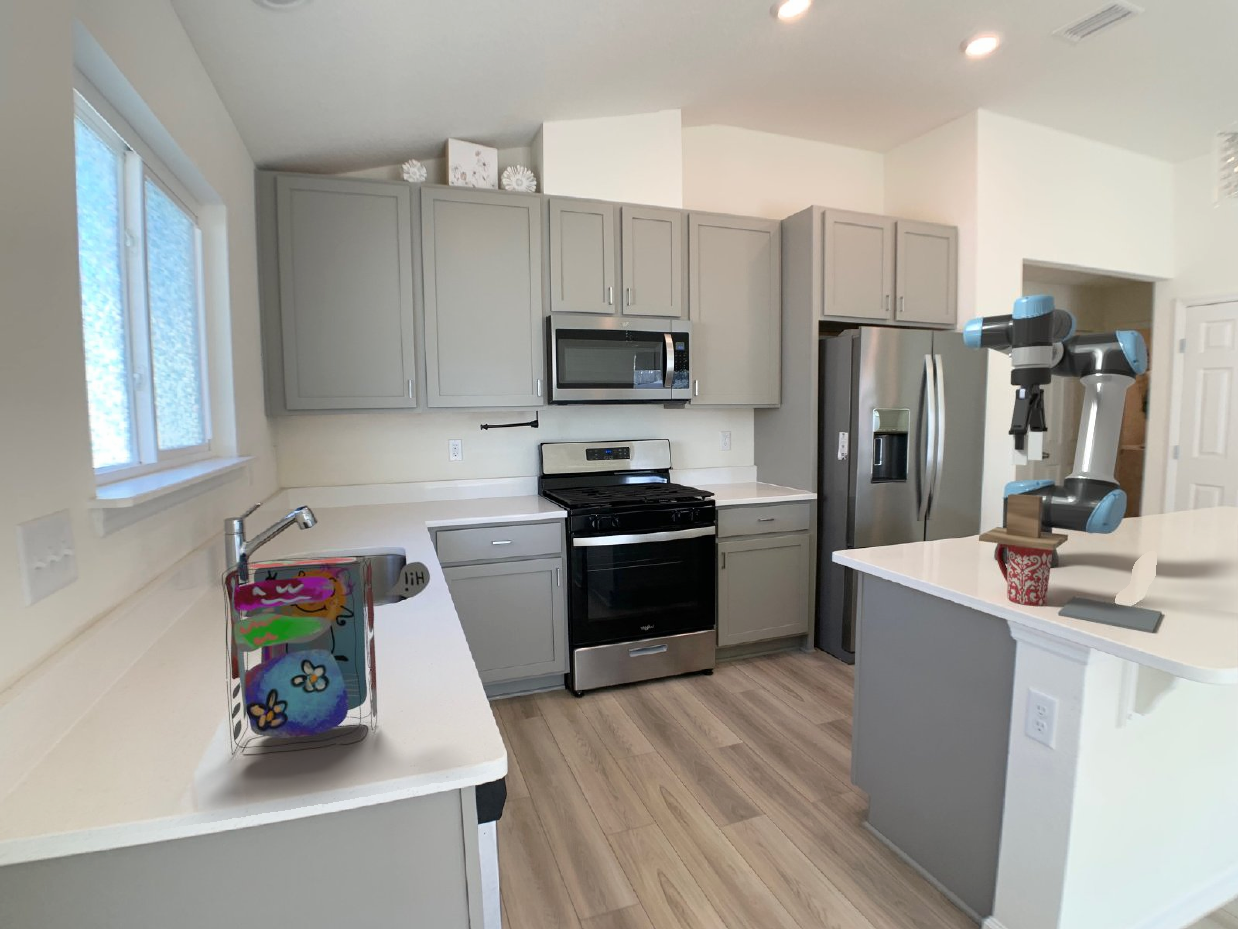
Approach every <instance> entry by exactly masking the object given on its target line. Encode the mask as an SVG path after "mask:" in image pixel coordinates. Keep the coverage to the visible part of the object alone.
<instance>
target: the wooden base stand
mask: <svg viewBox="0 0 1238 929" xmlns="http://www.w3.org/2000/svg"><path fill="white" fill-rule="evenodd" d="M1042 500H1043V496H1033V495H1019V494H1010V495H1008V505H1007V528H1003V526H1002V527H1000V526H996V527H994V528H992V529H991V530H988V531H986V532H984V533H982V534H979V535H978V542H986V543H993V544H998V543H999V544H1007V545H1015V546H1023V547H1031V548H1039V549H1046V550H1055V549H1056V550H1057V548H1059V547H1061V546H1062V545H1063V544H1064V543H1066V542H1067V541H1068V540H1069V539H1068V538H1069V535H1068V534H1066V533H1065V534H1063V533H1055V532H1052V533H1047V532H1041V522H1042Z"/></svg>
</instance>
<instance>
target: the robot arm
mask: <svg viewBox="0 0 1238 929" xmlns="http://www.w3.org/2000/svg"><path fill="white" fill-rule="evenodd" d="M1077 326H1078V324H1077V318H1076V317H1075V315H1074V314H1073V313H1071V312H1069V311H1067V310H1065V309H1062V308H1056V305H1055V298H1054V296H1053V295H1051V294H1036V295H1035V294H1033V295H1026V296H1021V297H1019V298H1016V299H1015V301H1014V303H1013V309H1012V313H1009V314H1000V315H993V316H992V315H991V316H985V317H984V316H981V317H977V318H973V319H969V320H968V321H967V322H966V323H965V326H964V328H963V335H962V338H963V341H964V344H965V346H966V347H967V348H968V349H971V350H972V349H973V350H975V349H977V350H978V349H979V350H981V349H990V350H994V351H996V352H999V353H1001V354H1003V355H1007V356H1008V358H1011V365H1010V366H1011V367H1014V368H1013V369H1011V371H1010V385H1012V386H1014V387H1015V386H1020V388H1017V389H1016V390H1015V400H1014V405H1013V411H1012V417H1011V424H1010V429H1009V430H1008V435H1009V436H1012V458H1011V465H1013V466H1028V461H1043V453H1044V452H1043V449H1044V433H1047V432H1048V431H1049V430H1048V429H1049V428H1048V426H1047V423H1046V411H1045V399H1044V398H1045V397H1044V396H1045V389H1044V388H1040V386H1043V385H1050V384H1051V383H1052V376H1057V377H1062V378H1079V382H1080V383H1081V384H1082V385H1083V386H1084V387H1085V391H1084V396H1083V397H1084V398H1083V402H1082V403H1083V404H1082V410H1081V417H1080V422H1079V429H1078V434H1077V442H1076V447H1075V449H1076V450H1075V455H1074V461H1073V467H1072V468H1073V469H1072V472H1071V473H1070V474H1069V475H1067V476H1066V477H1064V480H1063V484H1062V485H1056V482H1055V479H1047V478H1046V479H1044V478H1043V479H1025V480H1024V479H1023V480H1015V481H1014V480H1013V481H1010V482H1007V483H1006V484H1005V485H1004V491H1003V497H1002V500H1003V505H1002V507H1003V509H1002V510H1003V511H1002V528H1007V505H1008V495H1010V494H1019V495H1033V496H1043V500H1042V522H1041V532H1047V533H1053V529H1059V530H1067V531H1076V532H1083V533H1088V534H1099V535H1102V534H1103V535H1108V534H1109V535H1110V534H1112V533H1113V532H1115V531H1116V530H1117V529H1118V528H1119V526H1120V525H1121V523H1122V522H1123V519H1124V517H1125V513H1126V510H1127V501H1128V500H1127V499H1128V498H1127V493H1126V492H1125V491H1124V490H1122V489H1120V486H1121V485H1120V484H1121V483H1119V482H1118V480H1116V479H1115V477H1114V475H1115V466H1116V460H1117V455H1118V447H1119V442H1120V434H1121V428H1122V421H1123V415H1124V414H1123V413H1124V409H1125V401H1126V395H1127V389H1128V388H1129V387H1131V386H1132V385H1134V384H1135V383H1136V379H1137V376H1141V375H1143V374H1145V373H1146V371H1147V369H1148V351H1147V345H1146V342H1145V339H1144V337H1143V335H1142V334H1141V333H1140V332H1139V331H1137V330H1114V331H1107V332H1095V333H1088V334H1087V333H1085V334H1075V332H1076V330H1077ZM1028 430H1030V431H1028ZM999 545H1001V544H999V543H996V546H995V548H994V556H993V558H994V559H995V560H996V561H997V549H998V547H999ZM1003 556H1004V561H1005V564H1007V547H1006V548H1005V549H1004V553H1003ZM1059 560H1060V557H1059V554H1058V551H1057V548H1056V549H1055V550H1053V552H1052V560H1051V567H1050V568H1055V567H1057V566H1059Z"/></svg>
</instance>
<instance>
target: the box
mask: <svg viewBox="0 0 1238 929" xmlns="http://www.w3.org/2000/svg"><path fill="white" fill-rule="evenodd" d="M357 558H358V559H361V558H363V559H362V561H359V560H357ZM366 559H367V560H366ZM365 560H366V561H365ZM369 560H371V558H370V557H368V558H366V557H365V556H363V555H352V556H349V555H348V556H344V557H337V556H328V557H327V556H323V557H319V556H318V557H316V558H312V559H307V557H300V558H299V557H295V558H292V559H288V558H283V559H282V558H281V559H276V560H275V559H270V560H269V559H268V560H267V561H266V560H261V561H258V562H257V561H252V562H251V561H250V562H246V563H245V564H242V565H238V564H236V565H233V566H231V567H229V568H228V569H226V570H225V571H224V572H222V574H221V585H222V589H223V590H222V591H223V597H224V600H225V601H224V609H225V610H224V614H225V617H226V619H225V650H226V651H225V653H226V656H225V657H226V658H225V659H226V661H225V664H226V665H225V666H226V671H225V672H226V678H228V664H229V683H228V682H226V690H227V695H229V693H230V697H232V699H234V700H235V699H236V698H237V696H238V695H239V692H240V691H241V698H242V706H243V710H242V711H243V720H245V719H246V723H247V724H246V725H247V726H246V729H245V731H244V733H243V734H242V736H241V738H240V739H239V741H238V743H237V742H236V740H237V739H238V738H239V736H240V734H241V731H242V725H243V724H242V720H241V718H240V719H239V720H238V721H237V722H236V723H235V726H234V719H235V718H236V717H237V715H238V713H239V712H240V710H241V701H240V702H238V703H237V704H236V705H235V706H234V707H233V705H232V702H233V701H229V696H227V705H228V706H227V708H228V709H230V711H228V719H229V723H231V722H232V723H231V724H232V728H231V725H229V733H230V738H232V734H233V740H234V743H235V744H236V747H235V750H234V751H233V752H232V753H231V755H232V756H234V754H236V751H237V750H238V747H239V748H241V749H242V750H241V752H240V754H242V755H243V756H256V755H257V756H258V755H259V753H246V754H245V753H243V752H244V751H245V749H251V748H258V747H263V748H265V747H266V748H268V747H269V748H271V747H273V745H254V746H248V747H247V745H248V743H249V741H251V740H253V739H257V738H262V737H270V738H271V737H272V738H279V739H284V738H285V739H287V738H298V737H299V738H301V737H309V736H310V737H311V736H313V735H317V734H320V733H324V732H327V731H330V730H333V729H335V728H340V727H341V728H342V727H343V725H341V724H342V723H344V720H345V719H346V718H347V717H348V716H347V715H348V713H349V711H350V710H354V709H356V708H358V707H361V706H362V705H363V704H364V703H365V702H366V701H367V700H366V699H367V697H368V690H369V691H370V693H369V700H370V701H369V703H370V712H369V714H368V715H366V716H363V717H362V710H361V708H359V712H360V713H359V715H360V716H359V717H356V716H351V718H352V719H353V718H355V719H359V724H357V727H356V728H355V729H354V730H352V731H350V732H348V733H345V734H341V735H338V736H333V737H331V738H327V739H323V740H320V742H323V741H329V740H332V739H335V738H339V737H343V736H346V735H348V734H349V735H350V734H352V733H353V732H355V731H356V730H357V729H358V728H359V727H360V726H364V727H366V734H365V735H364V737H363V738H362V739H360V740H357V741H355V742H350V743H341V746H342V745H343V746H344V745H347V746H348V745H353V744H356V743H359V742H361V741H363V740H364V739H365V737H367V735H368V734H367V733H368V732H369V731H368V730H369V727H368V725H366V724H361V721H362V719H364V718H367V717H369V716H370V725H371V730H372V731H374V730H375V729H376V726H377V723H378V695H377V694H378V692H377V690H378V689H377V688H378V687H377V669H376V668H377V664H376V650H375V649H376V644H375V641H376V640H375V628H374V627H375V626H374V623H375V608H374V597H373V589H372V588H373V587H372V578H373V577H372V576H373V570H372V565H371V561H369ZM368 561H369V563H368ZM361 563H364V565H363V566H362V574H363V576H365V580H363V589H362V583H361V573H360V571H361V570H360V569H361ZM245 565H248V567H249V569H247V568H246V571H254V572H253V573H249V574H248V573H247V574H245V570H244V566H245ZM365 566H366V573H365V569H364V568H365ZM235 567H237V568H236V569H234V570H232V571H230V572H229V573H228V574H227V575H226V577H225V579H224V578H223V577H224V576H223V575H224V574H225V573H226V572H228V571H229V570H230V569H233V568H235ZM239 569H241V570H242V573H243V574H240V572H239ZM250 575H253V582H252V583H248V584H247V582H246V576H250ZM241 576H243V578H244V579H243V580H244V585H241V586H240V577H241ZM398 578H399V579H398V582H397V583H396V584H395V585H394V586H393V587H392V588H391V589H390V590H388V591H387V592H384V594H385V595H386V596H388V597H394V596H398V595H399V596H402V597H404V598H409V599H410V598H414V597H415V596H417V595H419V594H420V593H421V592H423V591H424V590H425V589H426V587H427V586H428V585H429V583H430V580H431V573H430V572H429V569H428V567H427V566H426V565H425V564H424V563H423V562H421V561H414V562H413V561H412V562H409V563H407V564H405V565H404V566H403V567H402V569H401V570H400V574H399V577H398ZM223 580H225V581H223ZM366 585H367V586H368V589H367V592H366V591H365V588H366ZM369 586H370V587H369ZM365 596H366V597H365ZM228 601H229V604H228ZM366 603H367V604H366ZM366 605H367V606H366ZM256 608H257V613H258V614H255V615H254V614H253V615H252V616H248V617H247V618H244V619H243V612H249V611H252V610H254V609H256ZM229 610H230V611H229ZM365 611H366V612H365ZM229 612H230V626H231V629H230V630H231V632H230V633H231V635H230V638H231V639H230V651H229V646H228V645H229V644H228V628H229V627H228V623H229ZM367 628H368V632H369V633H370V634H371V633H372V636H371V638H368V636H369V635H368V634H369V633H368V632H366V630H367ZM368 648H369V650H367V651H366V649H368ZM259 649H261V650H260V652H261V660H260V663H258V664H256V665H254V666H253V667H251V668H249V666H248V664H249V662H248V661H249V653H251V652H255V651H257V650H259ZM229 652H230V653H229ZM244 652H245V653H246V667H245V656H244V655H245V654H244ZM366 657H367V660H366ZM366 661H367V662H368V664H367V667H368V668H369V672H368V675H369V681H368V684H367V675H366V674H367V673H366V668H367V667H366ZM236 679H239V681H240V682H239V683H238V684H237V685H236V686H235V688H233V691H232V688H231V686H232V681H231V680H236ZM367 685H368V686H369V688H368V686H367ZM230 712H231V713H230ZM373 718H376V720H375V725H374V728H373V720H372V719H373ZM249 723H250V729H251V731H252V733H254V734H256V735H257V736H256V737H252V738H250V739H249V740H248V741H246V743H245V744H244V746H241V745H240V742H241V741H242V739H243V737H244V735H246V731H247V730H248V728H249ZM350 726H351V727H353V726H356V724H351V725H346V727H350ZM232 732H233V733H232ZM315 742H319V740H313V741H312V740H311V741H310V743H315ZM304 743H307V744H308V743H309V741H299V742H296V744H304ZM293 744H295V742H290V743H284V744H277V745H274V747H279V746H280V747H281V746H287V745H293ZM334 745H335V743H332V744H327V745H324V746H318V747H316V749H321V748H326V747H330V746H334ZM230 747H231V750H233V742H232V739H230ZM312 749H315V747H310V748H309V747H308V748H301V749H293V750H291V752H297V751H298V752H299V751H304V750H312ZM283 752H284V753H285V752H287V753H288V752H289V750H279V751H278V750H277V751H276V753H283ZM270 753H271V754H272V753H274V751H269V752H264V753H263V752H261V753H260V755H264V754H270Z"/></svg>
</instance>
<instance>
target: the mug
mask: <svg viewBox="0 0 1238 929" xmlns="http://www.w3.org/2000/svg"><path fill="white" fill-rule="evenodd" d="M1006 547H1007V563H1005V561H1004V556H1003V553H1004V549H1005V548H1006ZM1052 552H1053V550H1046V549H1039V548H1031V547H1023V546H1015V545H1007V544H1001V545H999V547H998V549H997V560H996V562H997V564H998V567H999V570H1000V572H1001V574H1002V576H1003V578H1004V579H1005V580H1004V581H1005V582H1006V583H1007V584H1006V585H1007V586H1006V587H1007V589H1006V590H1007V591H1006V592H1007V593H1006V594H1007V595H1006V596H1007V599H1008V601H1010V602H1013V603H1015V604H1019V605H1024V606H1025V605H1026V606H1032V607H1033V606H1034V607H1037V606H1038V607H1040V606H1045V605H1047V601H1048V600H1047V598H1048V589H1049V583H1050V582H1049V581H1050V573H1051V568H1052V567H1051V560H1052Z"/></svg>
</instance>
